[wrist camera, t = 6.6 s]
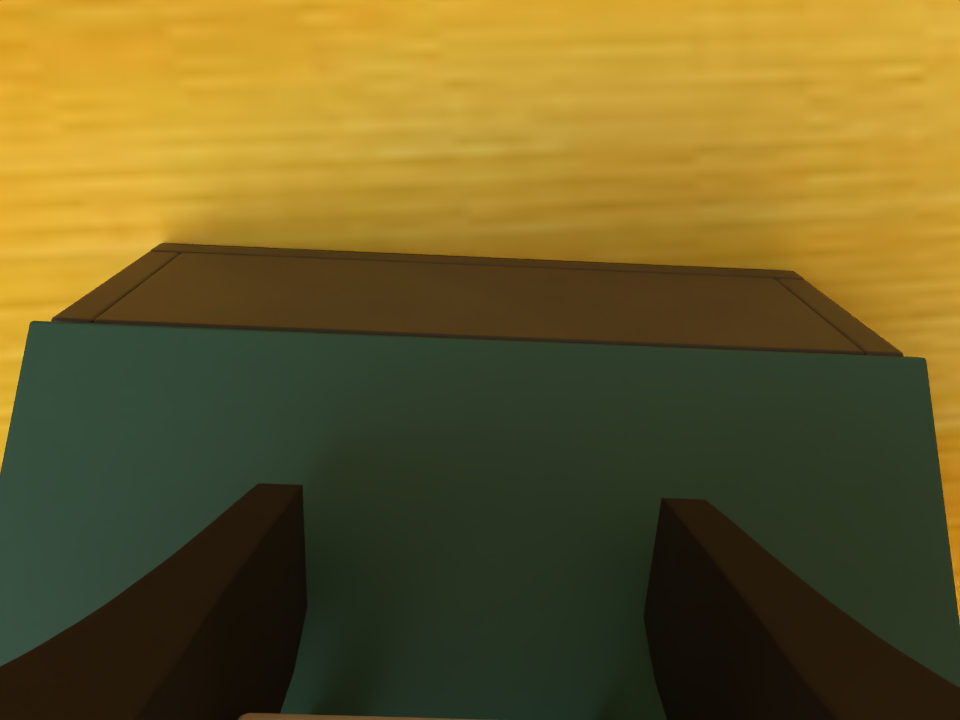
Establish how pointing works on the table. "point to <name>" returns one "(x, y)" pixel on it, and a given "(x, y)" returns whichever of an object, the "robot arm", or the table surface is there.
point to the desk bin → (475, 300)
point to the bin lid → (469, 498)
